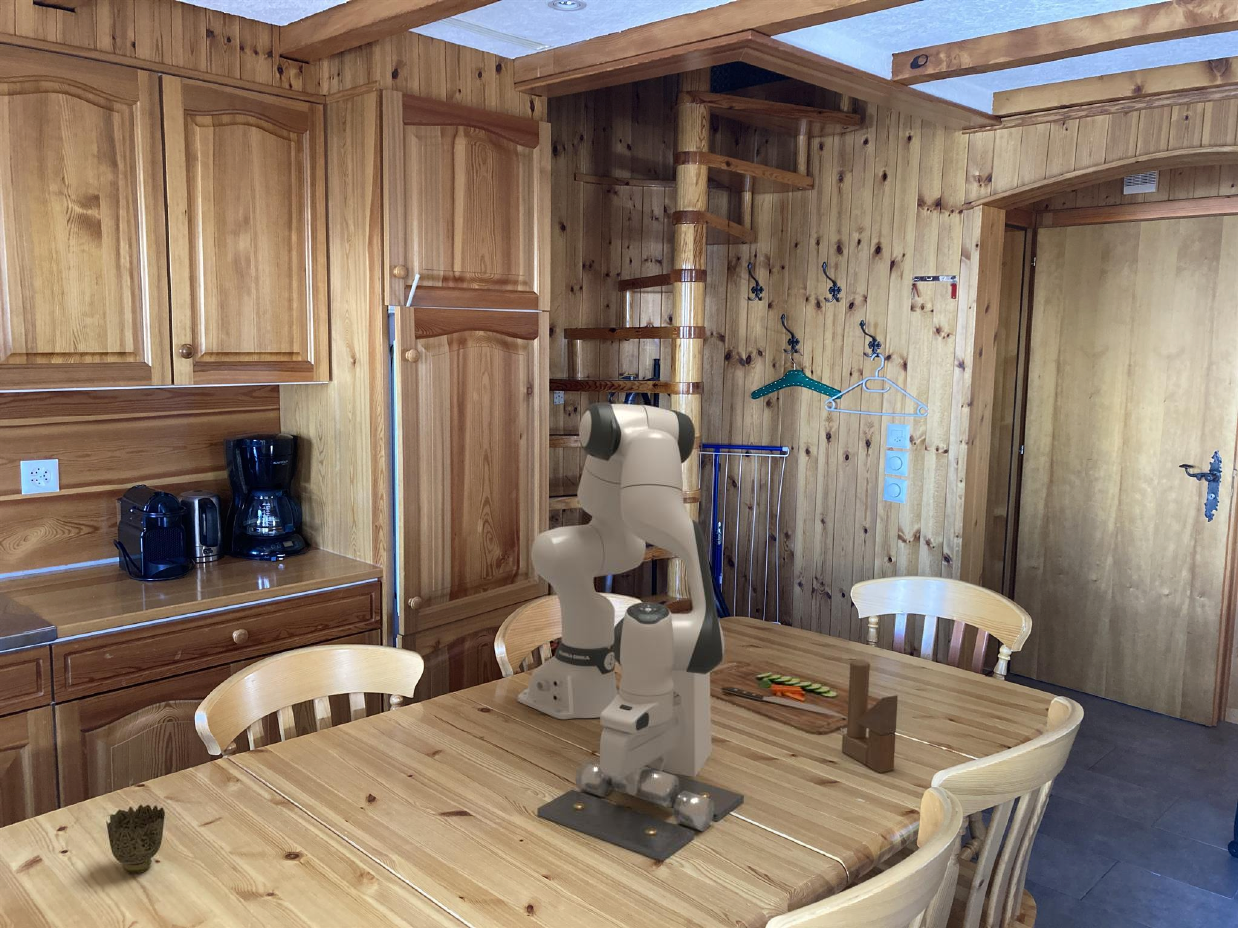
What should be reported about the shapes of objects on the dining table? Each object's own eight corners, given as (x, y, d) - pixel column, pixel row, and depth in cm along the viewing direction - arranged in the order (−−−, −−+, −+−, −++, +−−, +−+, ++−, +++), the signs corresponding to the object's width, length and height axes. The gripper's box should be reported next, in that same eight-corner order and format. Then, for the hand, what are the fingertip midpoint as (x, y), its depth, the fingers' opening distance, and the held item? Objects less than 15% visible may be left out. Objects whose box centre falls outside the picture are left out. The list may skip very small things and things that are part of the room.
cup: (121, 856, 144) (119, 803, 143) (173, 855, 145) (172, 802, 144) (99, 883, 137) (97, 828, 136) (154, 882, 138) (152, 827, 137)
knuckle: (611, 794, 164) (611, 765, 163) (628, 784, 168) (629, 755, 167) (662, 811, 158) (662, 781, 157) (678, 800, 162) (679, 770, 161)
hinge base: (537, 815, 160) (537, 785, 159) (626, 765, 180) (627, 738, 180) (662, 861, 146) (663, 829, 145) (743, 801, 166) (744, 773, 166)
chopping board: (908, 714, 211) (908, 700, 211) (829, 744, 194) (830, 728, 193) (749, 662, 245) (750, 649, 245) (670, 683, 228) (671, 670, 227)
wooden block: (878, 773, 179) (883, 677, 177) (840, 752, 188) (845, 659, 186) (894, 770, 180) (899, 674, 178) (856, 749, 190) (860, 657, 188)
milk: (631, 766, 180) (634, 626, 177) (650, 743, 191) (654, 611, 188) (694, 776, 176) (699, 633, 173) (711, 753, 187) (715, 618, 184)
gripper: (664, 684, 171) (662, 761, 173) (593, 717, 155) (592, 802, 156) (695, 691, 168) (693, 770, 169) (626, 726, 151) (624, 813, 153)
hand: (644, 786), depth 163 cm, fingers closed on knuckle, 5 cm apart
